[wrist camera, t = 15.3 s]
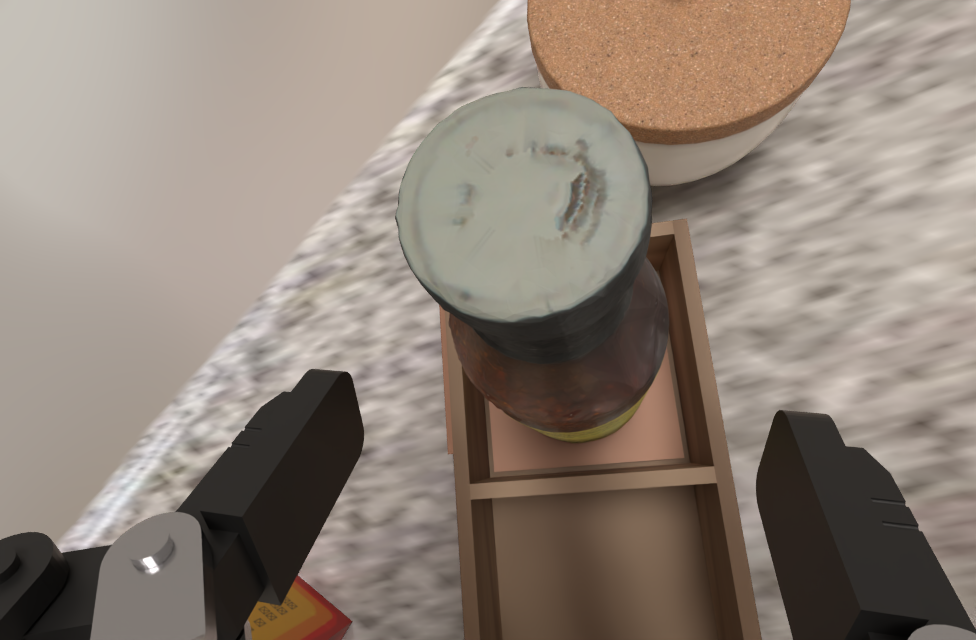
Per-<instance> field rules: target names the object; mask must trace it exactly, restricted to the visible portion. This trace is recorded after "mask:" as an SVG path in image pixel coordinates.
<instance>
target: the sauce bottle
mask: <svg viewBox="0 0 976 640" xmlns="http://www.w3.org/2000/svg"><path fill="white" fill-rule="evenodd" d="M651 212H652V193H651V186H650V180H649V171H648V166H647V164H646V161H645V159H644V157H643V155H642V153H641V151H640V149H639V147H638V145H637V144H636V142H635V140H634V139H633V137H632V135H631V134H630V132H629V131H628V130H627V129H626V128H625V127H624V126H623V125H622V124H621V123H620V122H619V121H618V119H617V118H616V117H615V116H614V114H613V113H612V112H611V111H610V110H608V109H606V108H605V107H603V106H601V105H600V104H598V103H597V102H595V101H594V100H592V99H590V98H587V97H585V96H582V95H579V94H576V93H573V92H571V91H567V90H557V89H548V88H528V87H521V88H517V89H513V90H510V91H506V92H501V93H496V94H492V95H489V96H486V97H483V98H481V99H479V100H476V101H474V102H471V103H469V104H466V105H464V106H462V107H460V108H459V109H457V110H456V111H454V112H453V113H452V114H451V115H450V116H449V117H447V118H446V119H444V120H443V121H441V122H440V123H438V124H437V125H436V127H435V128H434V129H433V130H432V131H431V132H430V133H429V134H428V136H427V137H426V138H425V139H424V140H423V141H422V143H421V144H420V146H419V147H418V148H417V150H416V151H415V153H414V154H413V156H412V158H411V160H410V162H409V164H408V166H407V169H406V171H405V174H404V177H403V179H402V182H401V186H400V190H399V199H398V208H397V211H396V216H395V219H396V222H397V226H398V230H399V240H400V244H401V247H402V250H403V253H404V256H405V258H406V260H407V262H408V265H409V267H410V269H411V270H412V272H413V273H414V275H415V276H416V278H417V279H418V281H419V282H420V284H421V285H422V286H423V287H424V288H425V289H426V291H427V292H428V293H429V294H430V295H431V296H432V297H433V298H434V300H435V301H436V302H437V303H439V305H440V306H441V307H442V309H443V310H445V311H447V312H449V313H450V314H449V322H448V324H449V327H450V329H451V335H452V338H453V342H454V347H455V349H456V352H457V354H458V359H459V360H460V362H461V364H462V366H463V368H464V370H465V372H466V374H467V376H468V377H469V379H470V381H471V382H472V383H473V384H474V386H475V387H476V388H477V389H478V390H479V391H480V392H481V393H482V394H483V396H484V397H485V398H486V399H487V400H488V401H490V402H492V403H493V404H494V405H495V406H496V407H497V408H498V409H500V410H503V412H504V413H505V414H506V415H508V416H509V417H511V418H512V419H514V420H516V421H517V422H519V423H521V424H523V425H525V426H527V427H529V428H532V429H534V430H536V431H538V432H540V433H542V434H544V435H546V436H549V437H551V438H554V439H557V440H560V441H564V442H569V443H585V442H591V441H595V440H599V439H602V438H605V437H607V436H609V435H611V434H613V433H615V432H616V431H618V430H619V429H620V428H621V427H622V426H624V425H625V424H626V423H627V422H628V421H629V420H630V419H631V418H632V417H633V415H634V414H635V412H636V411H637V409H638V408H639V406H640V404H641V402H642V400H643V399H644V397H645V396H646V394H647V392H648V390H649V389H650V387H651V385H652V384H653V382H654V380H655V378H656V376H657V374H658V372H659V370H660V367H661V365H662V362H663V359H664V355H665V351H666V347H667V342H668V337H669V311H668V303H667V299H666V295H665V291H664V288H663V286H662V283H661V281H660V279H659V276H658V274H657V272H656V271H655V269H654V268H653V266H652V265H651V263H650V261H649V260H648V259H647V258H646V255H647V250H648V246H649V241H650V235H651V228H652V216H651Z"/></svg>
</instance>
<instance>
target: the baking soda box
mask: <svg viewBox="0 0 976 640" xmlns="http://www.w3.org/2000/svg"><path fill="white" fill-rule="evenodd" d="M248 621H249V623H250V627H251V634H252V640H341V639H342V637H343V636H344V634H345V632H346V631H347V629H348V628H349V626H350V624H351V623H352V621H351V620H350V619H349V618H348V617H346V616H345V615H344V614H343V613H342V612H341V611H339V610H338V609H337V608H336V607H335V606H333V605H332V604H331V603H330V602H329V601H328V600H326V599H325V598H324V597H323V596H322V595H320V594H319V593H318V592H317V591H316V590H314V589H313V588H312V587H311V586H310V585H309V584H307V583H306V582H305V581H304V580H303V579H301V578H300V577H299V576H298V575H297V577H296V578H295V580H294V582H293V584H292V586H291V588H290V590H289V592H288V594H287V596H286V597H285V599H284V601H283V603H282V605H275V604H269V603H264V602H257V604H256V606H255V607H254V609H253V611H252V613H251V614H250V616H249V618H248Z"/></svg>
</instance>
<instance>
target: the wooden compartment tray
mask: <svg viewBox="0 0 976 640" xmlns="http://www.w3.org/2000/svg"><path fill="white" fill-rule="evenodd" d="M646 258H647V259H648V260H649V261H650V263H651V265H652V266H653V268H654V269H655V271H656V272H657V274H658V276H659V279H660V281H661V283H662V286H663V288H664V291H665V295H666V299H667V303H668V311H669V337H668V342H667V347H666V351H665V355H664V359H663V362H662V365H661V367H660V370H659V372H658V374H657V376H656V378H655V380H654V382H653V384H652V385H651V387H650V389H649V390H648V392H647V394H646V396H645V397H644V399H643V400H642V402H641V404H640V406H639V408H638V409H637V411H636V412H635V414H634V415H633V417H632V418H631V419H630V420H629V421H628V422H627V423H626V424H625V425H624V426H622V427H621V428H620V429H619V430H618V431H616V432H615V433H613V434H611V435H609V436H607V437H605V438H602V439H599V440H595V441H591V442H585V443H569V442H564V441H560V440H557V439H554V438H551V437H549V436H546V435H544V434H542V433H540V432H538V431H536V430H534V429H532V428H529V427H527V426H525V425H523V424H521V423H519V422H517V421H516V420H514V419H512V418H511V417H509V416H508V415H506V414H505V413H504V412H503V410H500V409H498V408H497V407H496V406H495V405H494V404H493V403H492V402H490V401H488V400H487V399H486V398H485V397H484V396H483V394H482V393H481V392H480V391H479V390H478V389H477V388H476V387H475V386H474V384H473V383H472V382H471V381H470V379H469V377H468V376H467V374H466V372H465V370H464V368H463V366H462V364H461V362H460V360H459V359H458V354H457V352H456V349H455V347H454V342H453V338H452V335H451V329H450V327H449V324H448V322H449V314H450V313H449V312H447V311H445V310H443V309H442V307H441V306H440V305H439V307H440V325H441V342H442V359H443V376H444V394H445V411H446V428H447V445H448V454H453V457H454V473H455V490H456V506H457V523H458V540H459V556H460V573H461V589H462V606H463V622H464V639H465V640H762V638H761V632H760V627H759V621H758V616H757V610H756V604H755V599H754V593H753V587H752V582H751V576H750V571H749V565H748V559H747V554H746V548H745V543H744V537H743V531H742V526H741V520H740V515H739V509H738V503H737V498H736V492H735V486H734V481H733V475H732V470H731V464H730V458H729V453H728V447H727V442H726V436H725V430H724V425H723V419H722V414H721V408H720V402H719V397H718V391H717V385H716V380H715V374H714V369H713V363H712V357H711V352H710V346H709V341H708V335H707V329H706V324H705V318H704V313H703V307H702V301H701V296H700V290H699V284H698V279H697V273H696V268H695V262H694V256H693V251H692V245H691V240H690V234H689V228H688V223H687V219H680V220H673V221H666V222H658V223H652V228H651V235H650V241H649V246H648V250H647V255H646Z"/></svg>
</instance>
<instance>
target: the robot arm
mask: <svg viewBox="0 0 976 640" xmlns="http://www.w3.org/2000/svg"><path fill="white" fill-rule="evenodd" d="M363 442H364V428H363V423H362V418H361V414H360V410H359V405H358V401H357V397H356V392H355V388H354V384H353V380H352V377H351V375H350V374H349V373H348V372H343V371H332V370H320V369H311V370H309V371H307V372H306V373H305V375H304V376H303V377H302V378H301V380H300V381H299V382H298V384H297V385H296V386H295V388H294V389H293V390H292V391H291V392H282V393H281V394H279V395H278V396H276V397H275V398H274V399H272V400H271V401H269V402H268V403H266V404H265V405H264V406H262V407H261V408H260V409H259V410H258V411H257V413H256V414H255V415H254V416H253V418H252V419H251V420H250V421H249V422H248V424H247V425H246V426H245V430H244V431H241V432H240V434H239V435H238V436H237V437H236V438H235V440H234V441H233V442H232V446H231V447H228V448H227V450H226V451H225V452H224V453H223V454H222V456H221V457H220V458H219V459H218V461H217V462H216V463H215V464H214V466H213V467H212V468H211V469H210V470H209V472H208V473H207V474H206V475H205V477H204V478H203V479H202V480H201V482H200V483H199V484H198V485H197V486H196V488H195V489H194V490H193V491H192V493H191V494H190V495H189V496H188V497H187V499H186V500H185V501H184V502H183V504H182V505H181V506H180V507H179V508H178V510H177V511H176V512H169V513H164V514H160V515H156V516H153V517H151V518H148V519H146V520H144V521H142V522H140V523H138V524H136V525H135V526H133V527H132V528H130V529H129V530H128V531H126V532H125V533H124V534H123V535H121V536H120V537H119V538H118V539H117V540H116V541H115V542H114V543H113V545H109V546H103V547H96V548H90V549H83V550H77V551H71V552H64V553H61V552H60V551H59V549H58V548H57V547H56V545H55V544H54V543H53V541H52V540H51V539H50V538H49V537H48V536H47V535H45V534H42V533H38V532H27V533H21V534H17V535H13V536H10V537H7V538H4V539H2V540H0V640H252V634H251V627H250V623H249V621H248V618H249V616H250V614H251V613H252V611H253V609H254V607H255V606H256V604H257V602H264V603H269V604H275V605H282V603H283V601H284V599H285V597H286V596H287V594H288V592H289V590H290V588H291V586H292V584H293V582H294V580H295V578H296V577H297V575H298V573H299V571H300V569H301V567H302V565H303V563H304V561H305V560H306V558H307V556H308V554H309V552H310V550H311V548H312V546H313V544H314V542H315V541H316V539H317V537H318V535H319V533H320V531H321V529H322V527H323V525H324V523H325V522H326V520H327V518H328V516H329V514H330V512H331V510H332V508H333V506H334V505H335V503H336V501H337V499H338V497H339V495H340V493H341V491H342V489H343V487H344V486H345V484H346V482H347V480H348V478H349V476H350V474H351V472H352V470H353V468H354V467H355V465H356V463H357V461H358V459H359V457H360V454H361V451H362V447H363ZM756 496H757V504H758V508H759V512H760V516H761V520H762V523H763V527H764V531H765V535H766V538H767V542H768V546H769V550H770V554H771V557H772V561H773V565H774V569H775V572H776V576H777V580H778V584H779V587H780V591H781V595H782V599H783V602H784V606H785V610H786V614H787V618H788V621H789V625H790V629H791V633H792V636H793V640H976V629H975V627H974V626H973V624H972V622H971V620H970V618H969V617H968V615H967V613H966V611H965V609H964V607H963V606H962V604H961V602H960V600H959V598H958V596H957V595H956V593H955V591H954V589H953V587H952V585H951V584H950V582H949V580H948V578H947V576H946V575H945V573H944V571H943V569H942V567H941V565H940V564H939V562H938V560H937V558H936V556H935V554H934V553H933V551H932V549H931V547H930V545H929V543H928V542H927V540H926V538H925V536H924V534H923V532H922V531H919V530H918V526H919V525H918V523H917V521H916V520H915V518H914V516H913V514H912V512H911V510H910V509H909V507H906V506H905V502H906V501H905V499H904V498H903V496H902V494H901V492H900V490H899V488H898V487H897V485H896V483H895V481H894V479H893V477H892V476H891V474H890V473H889V472H888V471H887V470H886V469H885V468H884V467H883V466H882V465H881V464H880V463H879V462H878V461H877V460H875V459H874V458H873V457H872V456H871V455H870V454H869V453H868V452H867V451H866V450H865V449H864V448H857V447H847V446H845V444H844V442H843V440H842V438H841V436H840V434H839V432H838V430H837V428H836V425H835V423H834V421H833V420H832V418H831V417H830V416H829V415H827V414H819V413H808V412H796V411H784V410H779V411H778V412H777V413H776V414H775V416H774V419H773V422H772V425H771V429H770V432H769V435H768V439H767V442H766V445H765V448H764V452H763V455H762V458H761V462H760V465H759V468H758V472H757V479H756Z"/></svg>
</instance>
